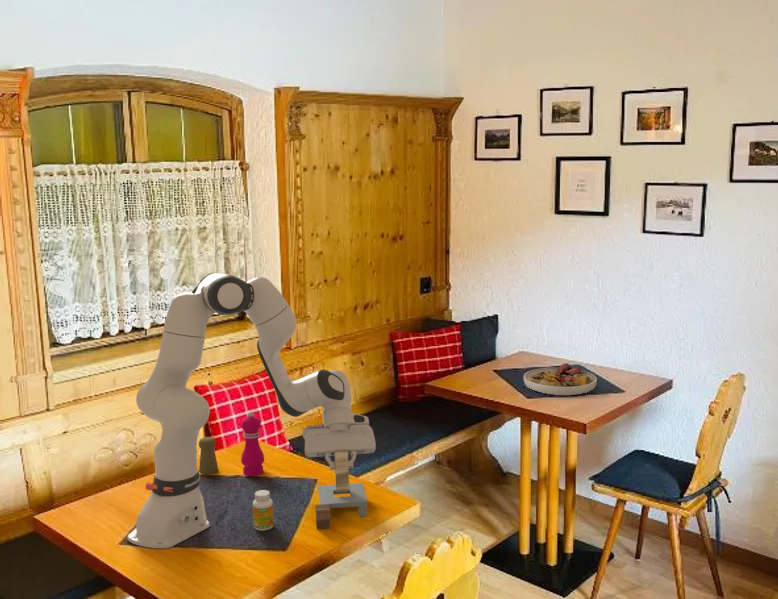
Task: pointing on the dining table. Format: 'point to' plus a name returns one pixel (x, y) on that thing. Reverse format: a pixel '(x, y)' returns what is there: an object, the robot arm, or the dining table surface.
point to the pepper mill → (252, 446)
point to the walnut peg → (323, 516)
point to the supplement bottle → (262, 511)
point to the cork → (207, 456)
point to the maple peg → (341, 470)
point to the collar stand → (354, 499)
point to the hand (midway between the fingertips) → (341, 468)
